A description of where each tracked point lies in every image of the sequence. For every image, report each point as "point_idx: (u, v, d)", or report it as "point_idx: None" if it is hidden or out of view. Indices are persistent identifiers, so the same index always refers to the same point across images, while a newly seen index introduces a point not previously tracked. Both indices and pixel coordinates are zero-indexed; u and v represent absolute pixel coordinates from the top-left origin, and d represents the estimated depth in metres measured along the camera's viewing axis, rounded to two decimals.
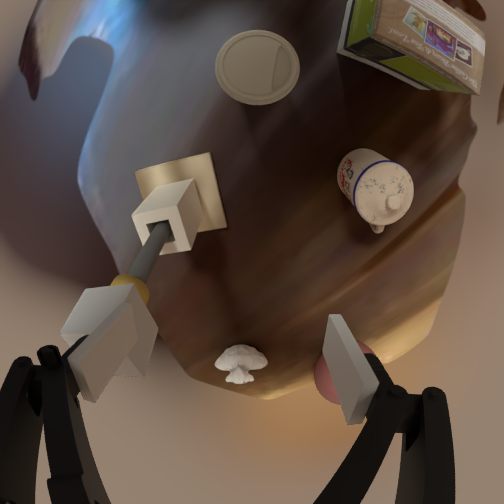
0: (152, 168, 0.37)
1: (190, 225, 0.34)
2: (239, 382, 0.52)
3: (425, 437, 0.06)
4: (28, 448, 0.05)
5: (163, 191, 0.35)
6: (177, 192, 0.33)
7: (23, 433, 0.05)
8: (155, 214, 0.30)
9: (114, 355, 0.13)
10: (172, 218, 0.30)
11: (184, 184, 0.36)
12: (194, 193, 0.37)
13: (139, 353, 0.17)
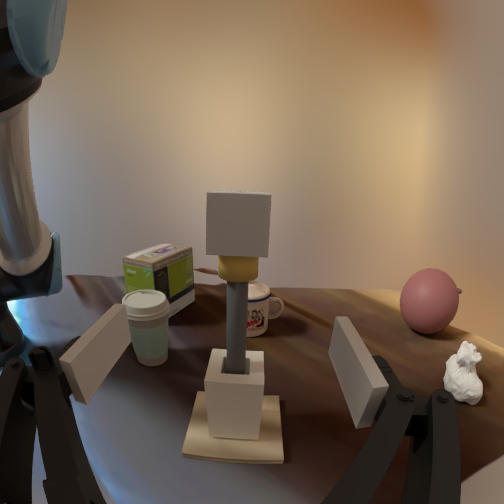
0: (187, 435, 0.28)
1: None
2: (472, 346, 0.30)
3: (433, 439, 0.06)
4: (23, 449, 0.05)
5: None
6: None
7: (18, 434, 0.05)
8: (213, 363, 0.28)
9: (106, 357, 0.13)
10: (224, 355, 0.30)
11: None
12: None
13: None
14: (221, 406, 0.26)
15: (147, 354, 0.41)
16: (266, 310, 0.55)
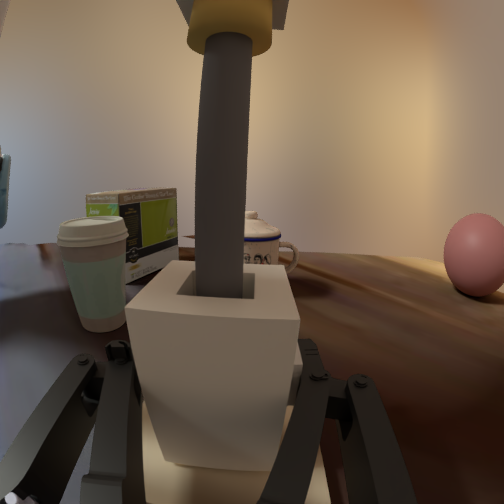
0: None
1: None
2: None
3: (360, 426, 0.07)
4: (69, 448, 0.06)
5: None
6: None
7: (68, 433, 0.07)
8: (165, 278, 0.12)
9: None
10: (194, 269, 0.13)
11: None
12: None
13: None
14: (178, 393, 0.10)
15: (90, 310, 0.25)
16: (275, 258, 0.38)
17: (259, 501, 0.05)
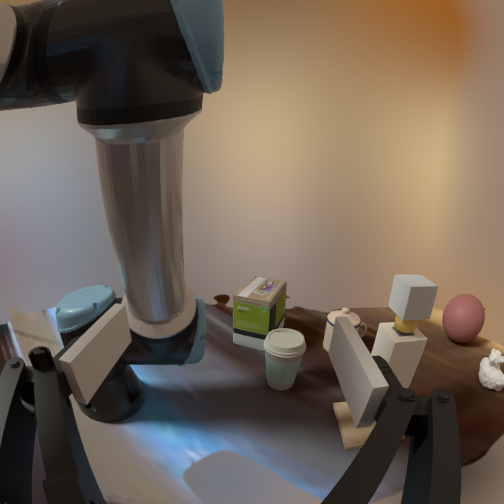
0: (344, 435, 0.37)
1: None
2: (499, 352, 0.40)
3: (433, 439, 0.06)
4: (23, 449, 0.05)
5: None
6: (375, 350, 0.38)
7: (18, 434, 0.05)
8: (390, 331, 0.35)
9: (106, 357, 0.13)
10: (390, 326, 0.37)
11: None
12: None
13: None
14: (397, 363, 0.33)
15: (285, 381, 0.51)
16: None
17: None
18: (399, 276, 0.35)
